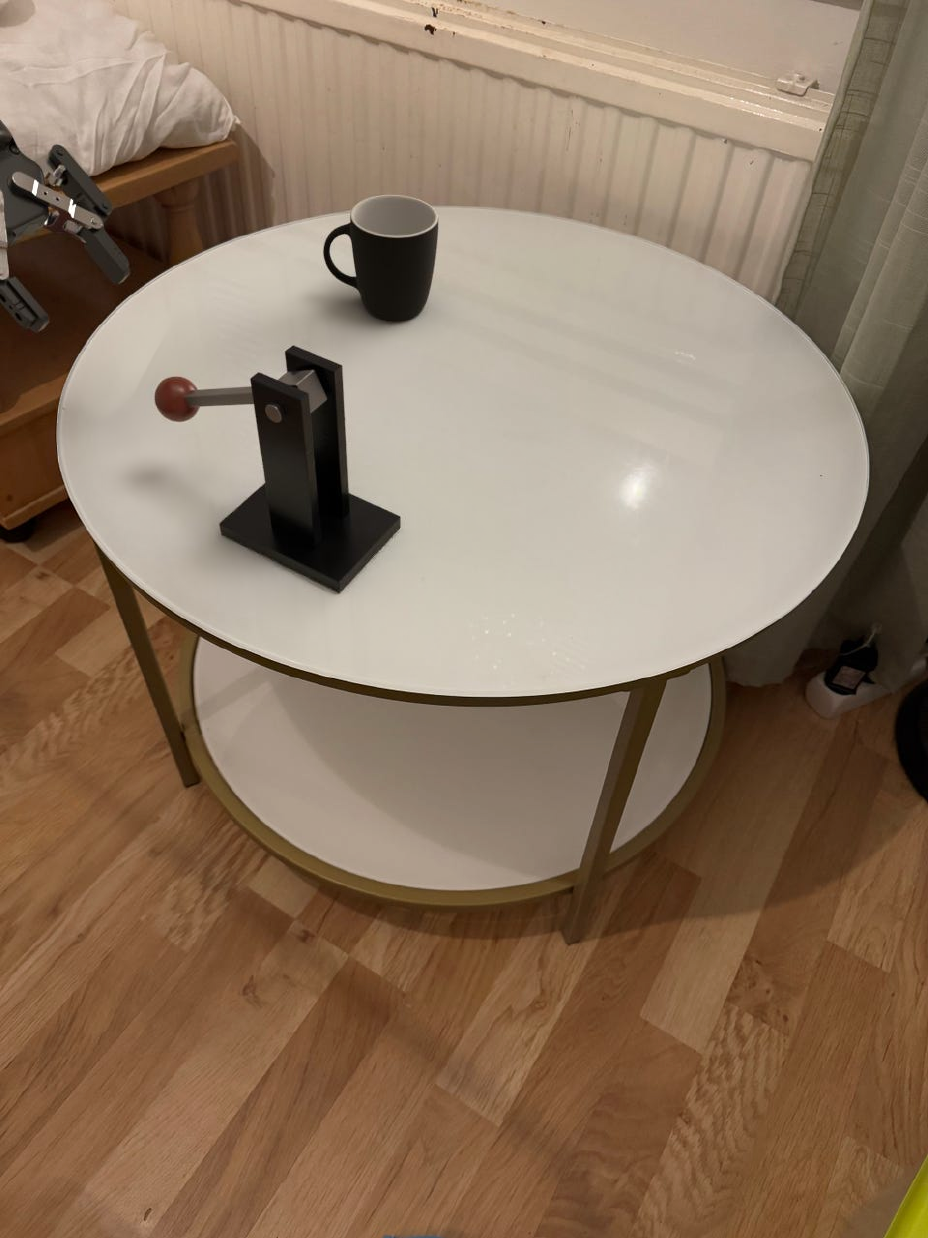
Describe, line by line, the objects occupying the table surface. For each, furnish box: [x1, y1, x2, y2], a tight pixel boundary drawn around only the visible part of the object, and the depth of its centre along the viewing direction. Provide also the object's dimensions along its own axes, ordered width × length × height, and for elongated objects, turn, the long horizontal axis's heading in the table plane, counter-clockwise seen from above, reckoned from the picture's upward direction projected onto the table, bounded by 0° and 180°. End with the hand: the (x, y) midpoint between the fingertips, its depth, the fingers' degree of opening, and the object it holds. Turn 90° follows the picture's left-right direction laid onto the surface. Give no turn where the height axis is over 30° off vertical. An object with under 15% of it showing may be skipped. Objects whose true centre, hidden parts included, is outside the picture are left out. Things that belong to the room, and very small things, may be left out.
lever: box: [153, 370, 327, 423], centre depth 70 cm, size 17×4×4 cm, turn 60°
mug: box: [322, 194, 439, 322], centre depth 95 cm, size 12×9×10 cm
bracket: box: [218, 345, 402, 594], centre depth 70 cm, size 12×9×16 cm
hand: (85, 302), depth 71 cm, fingers open, 8 cm apart
